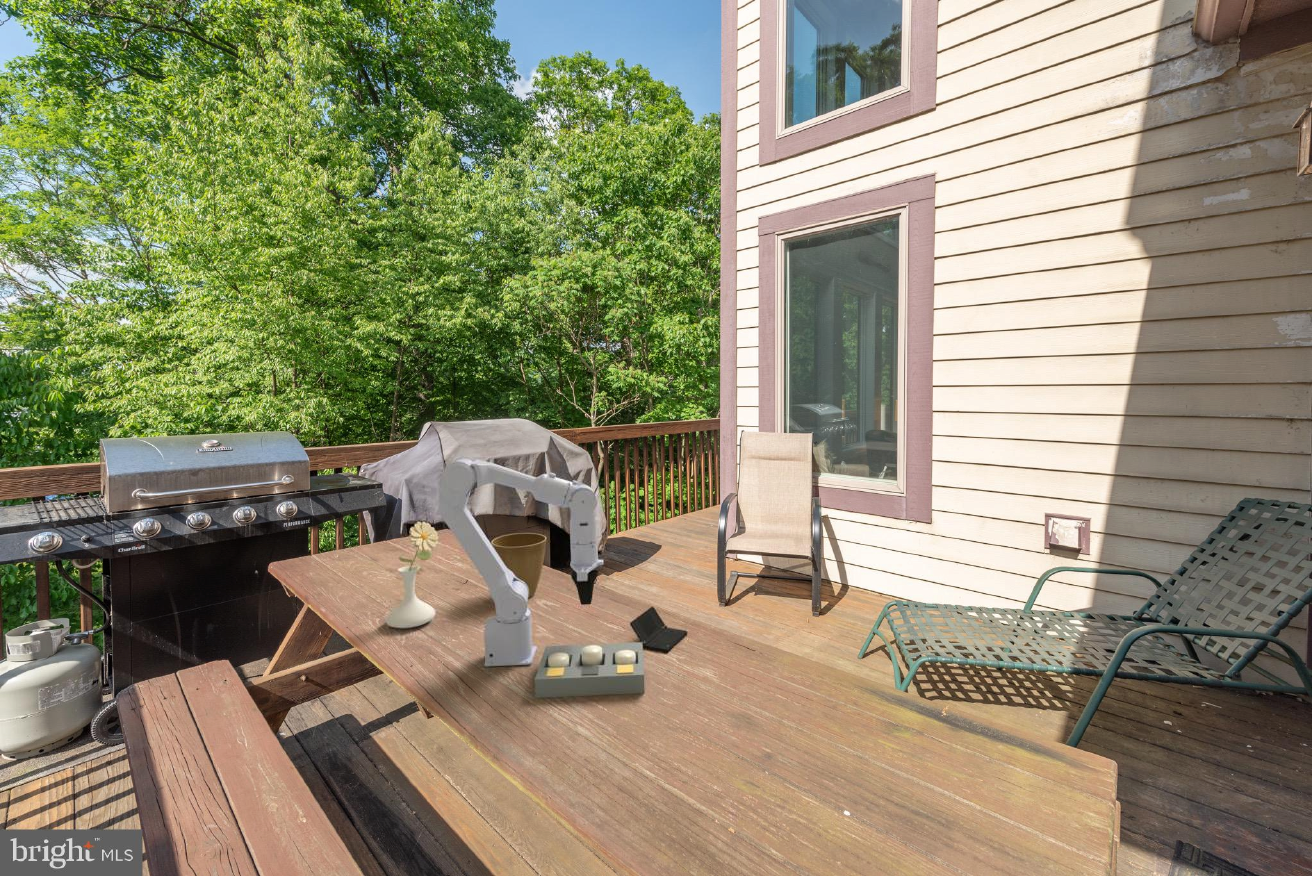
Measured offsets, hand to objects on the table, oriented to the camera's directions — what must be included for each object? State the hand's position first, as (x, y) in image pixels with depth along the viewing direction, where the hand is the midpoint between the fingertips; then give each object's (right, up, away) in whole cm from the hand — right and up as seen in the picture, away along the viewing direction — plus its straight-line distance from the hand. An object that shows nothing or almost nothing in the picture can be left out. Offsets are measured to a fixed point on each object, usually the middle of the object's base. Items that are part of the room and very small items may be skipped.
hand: (586, 603), depth 123 cm
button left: (-4, -10, -12) cm, 16 cm away
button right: (+9, -10, -11) cm, 17 cm away
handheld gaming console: (+16, -10, +5) cm, 20 cm away
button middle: (+3, -9, -11) cm, 14 cm away
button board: (+3, -11, -11) cm, 16 cm away
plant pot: (-23, -9, +37) cm, 44 cm away
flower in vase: (-45, -10, +19) cm, 50 cm away
